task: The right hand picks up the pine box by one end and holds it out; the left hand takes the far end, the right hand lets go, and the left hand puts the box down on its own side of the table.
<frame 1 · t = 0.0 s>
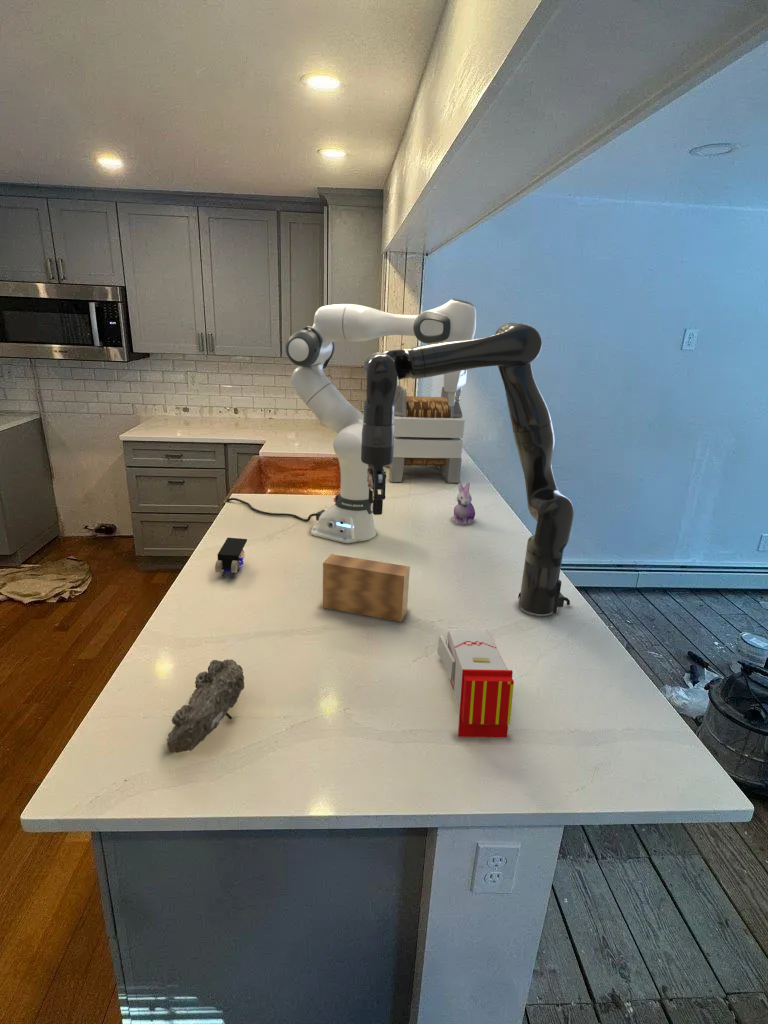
left hand: (454, 403, 174), 48 cm above the counter, tool pointing down, fingers open, 8 cm apart
right hand: (375, 508, 137), 29 cm above the counter, tool pointing down, fingers open, 8 cm apart
transformer: (419, 473, 275), on the counter
box: (364, 609, 149), on the counter
toy: (469, 691, 119), on the counter
fossil: (212, 717, 108), on the counter
figurine: (463, 521, 214), on the counter
figurine character: (232, 569, 168), on the counter
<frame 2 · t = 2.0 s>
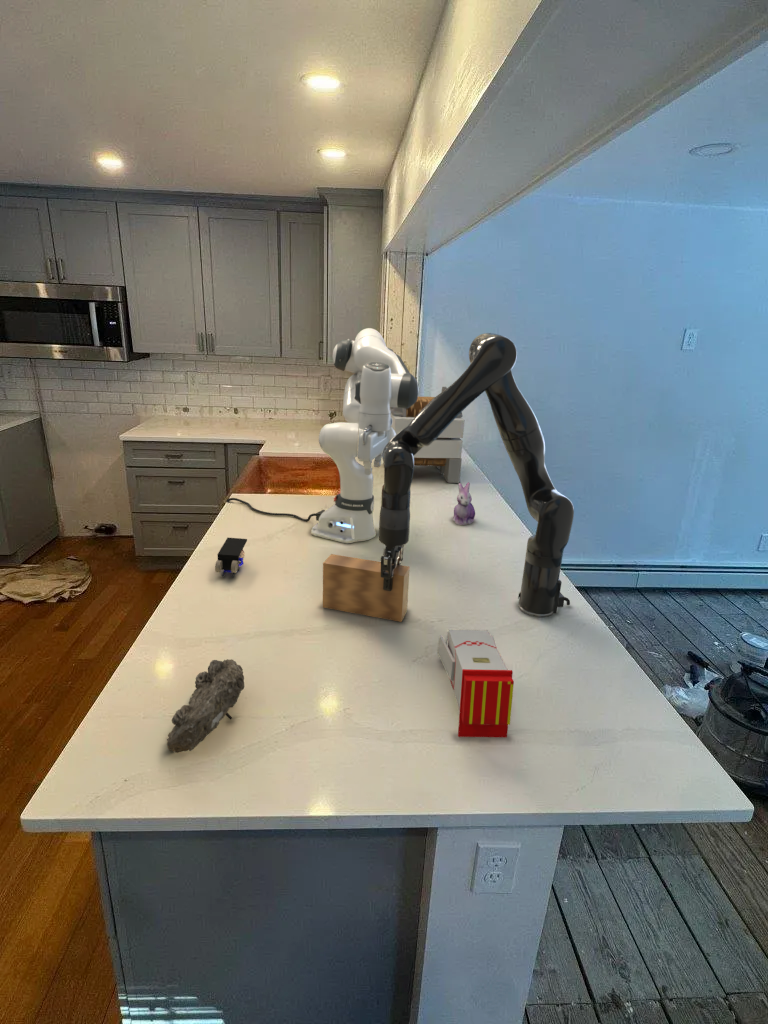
left hand: (372, 470, 164), 31 cm above the counter, tool pointing down, fingers open, 8 cm apart
right hand: (391, 584, 145), 9 cm above the counter, tool pointing down, fingers closed on box, 6 cm apart
box: (364, 609, 149), on the counter, touching right hand
everything else where it was.
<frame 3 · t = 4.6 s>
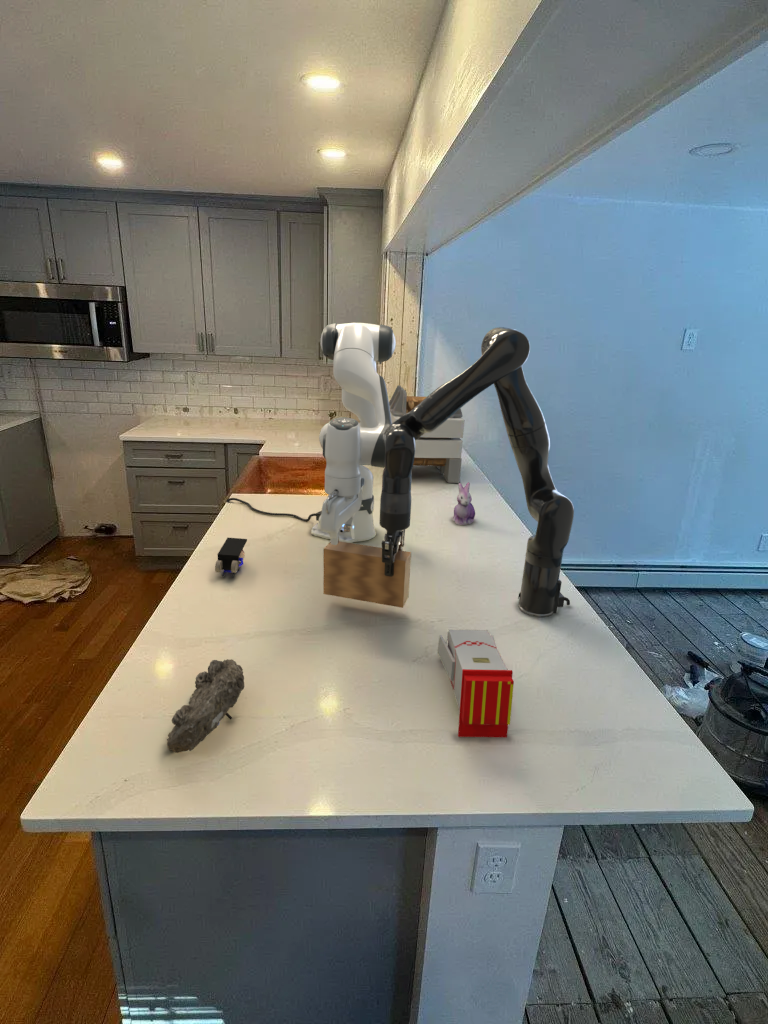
left hand: (341, 537, 144), 19 cm above the counter, tool pointing down, fingers open, 8 cm apart
right hand: (392, 570, 143), 13 cm above the counter, tool pointing down, fingers closed on box, 6 cm apart
box: (365, 595, 148), point 4 cm above the counter, touching right hand
everything else where it was.
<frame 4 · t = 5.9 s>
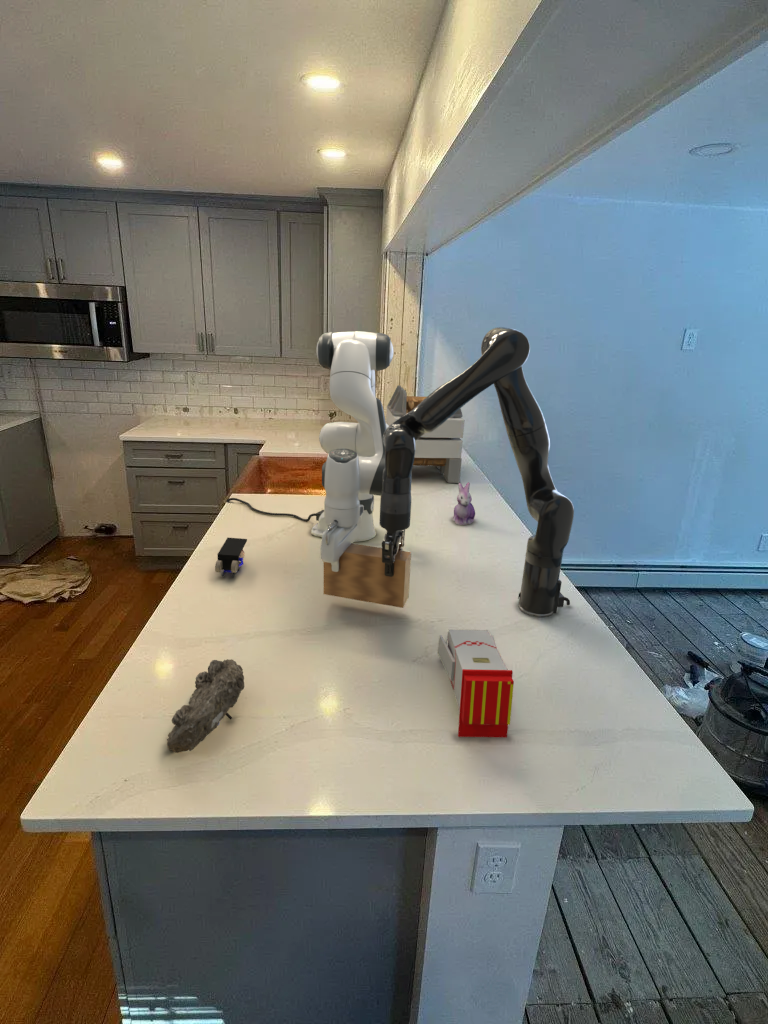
left hand: (340, 564, 147), 12 cm above the counter, tool pointing down, fingers closed on box, 6 cm apart
right hand: (392, 570, 143), 13 cm above the counter, tool pointing down, fingers closed on box, 6 cm apart
box: (366, 595, 148), point 4 cm above the counter, touching left hand, right hand
everything else where it was.
when the right hand's fingers open (13 cm above the counter, at t = 7.2 s): box moves 2 cm, held by the left hand.
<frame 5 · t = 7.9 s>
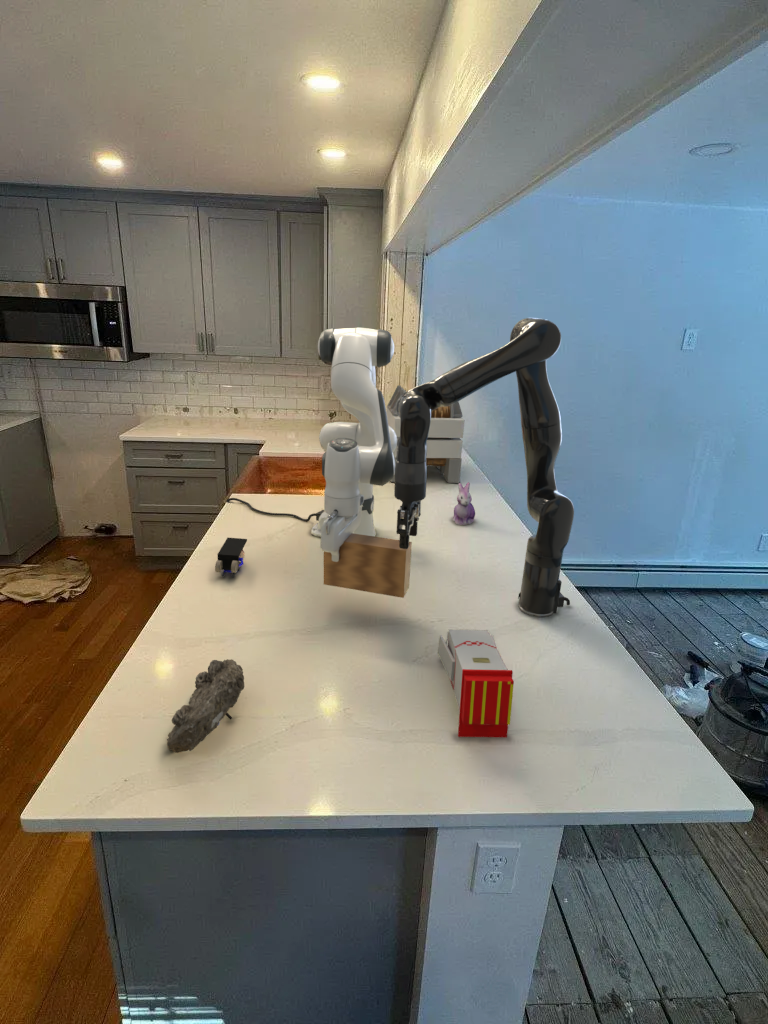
left hand: (341, 554, 146), 14 cm above the counter, tool pointing down, fingers closed on box, 6 cm apart
right hand: (408, 541, 140), 21 cm above the counter, tool pointing down, fingers open, 8 cm apart
box: (366, 586, 147), point 7 cm above the counter, touching left hand
everything else where it was.
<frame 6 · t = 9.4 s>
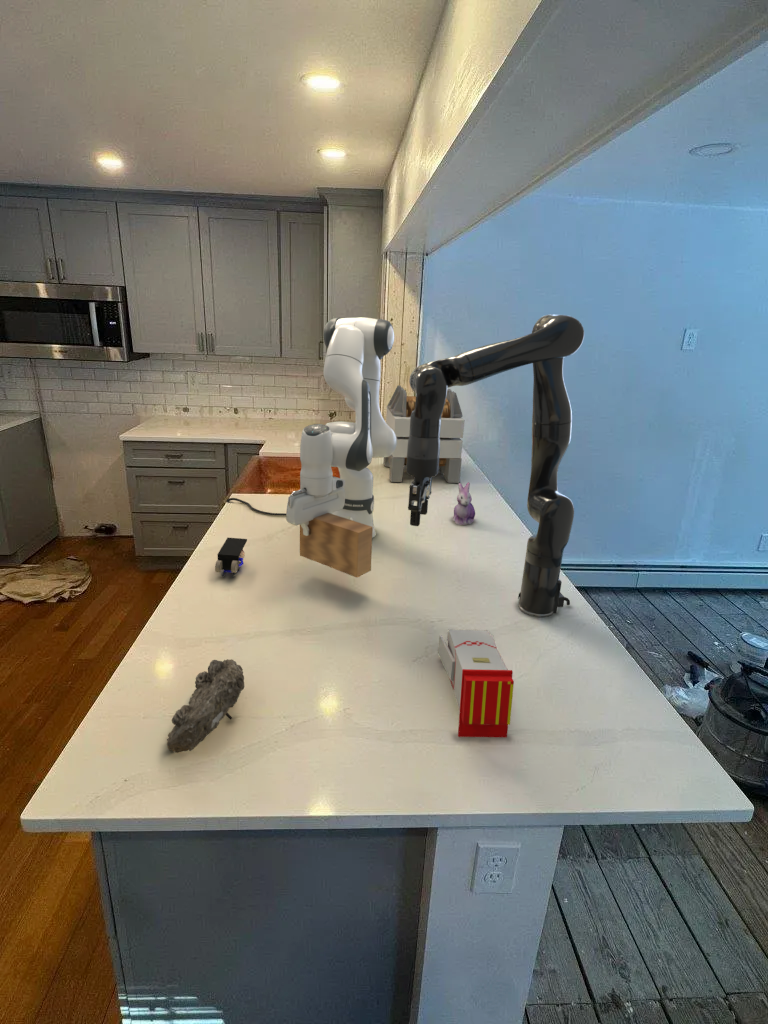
left hand: (316, 531, 161), 14 cm above the counter, tool pointing down, fingers closed on box, 6 cm apart
right hand: (418, 519, 137), 27 cm above the counter, tool pointing down, fingers open, 8 cm apart
box: (334, 562, 159), point 7 cm above the counter, touching left hand
everything else where it was.
when the left hand's fingers open (9 cm above the counter, at t = 10.7 s): box moves 1 cm, on the counter.
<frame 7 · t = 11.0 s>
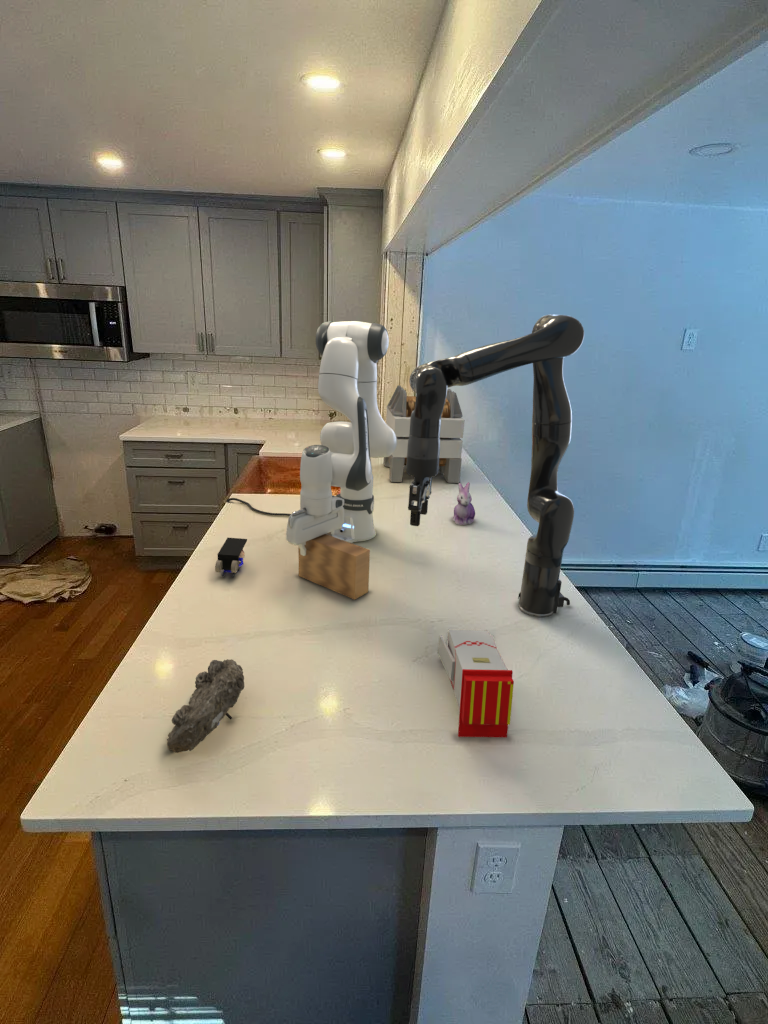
left hand: (316, 549, 163), 9 cm above the counter, tool pointing down, fingers open, 8 cm apart
right hand: (418, 519, 137), 27 cm above the counter, tool pointing down, fingers open, 8 cm apart
box: (332, 583, 162), on the counter
everything else where it was.
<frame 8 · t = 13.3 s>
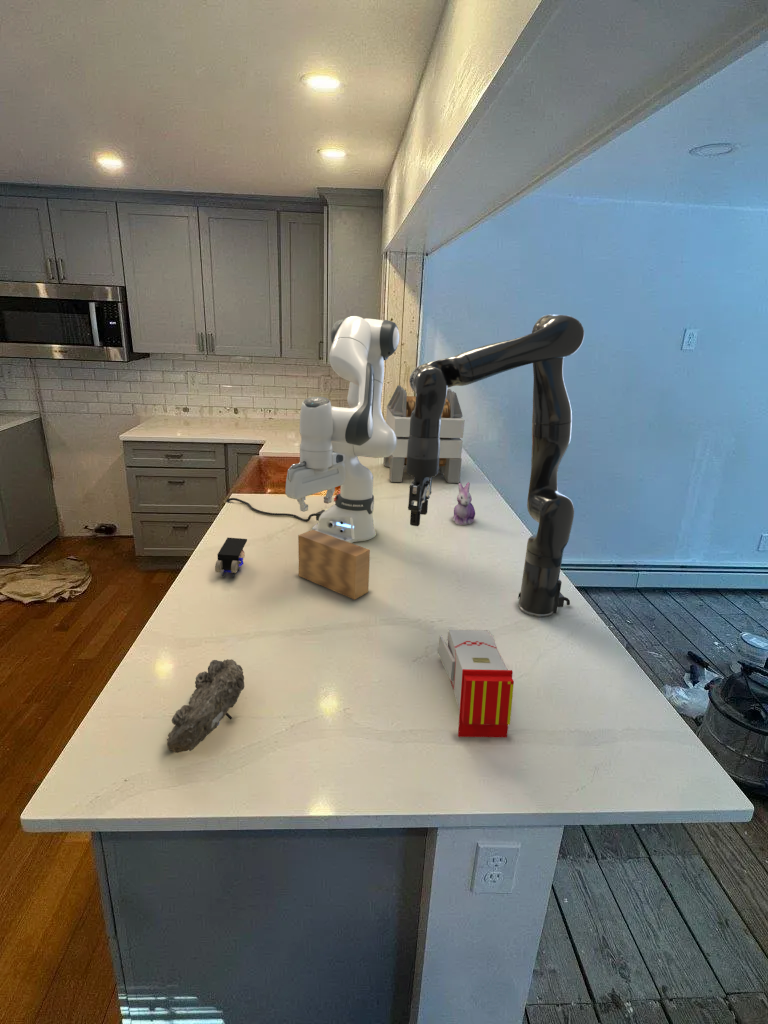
left hand: (316, 506, 158), 22 cm above the counter, tool pointing down, fingers open, 8 cm apart
right hand: (418, 519, 137), 27 cm above the counter, tool pointing down, fingers open, 8 cm apart
nothing on the counter moved.
at the end: box inside the target area (6.5 cm from its centre), on the counter; the left hand is holding nothing; the right hand is holding nothing; box at rest at the end (0.0 cm/s) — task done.
